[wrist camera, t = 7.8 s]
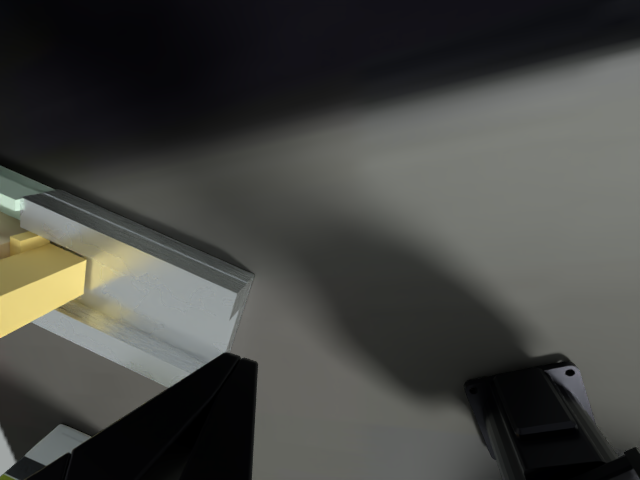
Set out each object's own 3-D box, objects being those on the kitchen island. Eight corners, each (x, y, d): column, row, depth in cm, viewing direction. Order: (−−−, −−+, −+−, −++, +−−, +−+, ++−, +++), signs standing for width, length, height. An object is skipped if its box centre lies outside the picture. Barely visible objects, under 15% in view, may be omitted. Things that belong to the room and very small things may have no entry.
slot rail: (254, 274, 22) (237, 293, 20) (221, 378, 26) (203, 405, 23) (60, 189, 23) (20, 196, 21) (54, 300, 27) (20, 317, 25)
